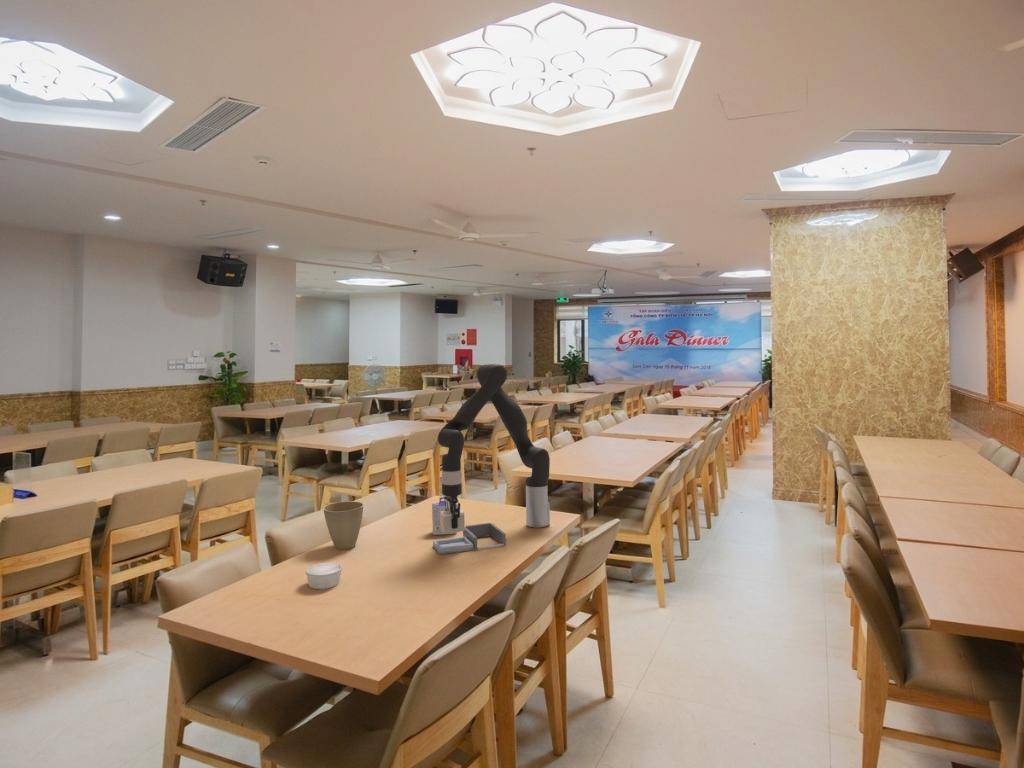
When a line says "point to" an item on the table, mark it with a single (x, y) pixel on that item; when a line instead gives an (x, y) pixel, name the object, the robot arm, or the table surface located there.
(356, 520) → the plant pot
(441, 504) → the ink cartridge box
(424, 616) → the table surface
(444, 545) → the tray
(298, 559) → the table surface
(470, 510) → the table surface
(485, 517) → the table surface
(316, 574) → the ramekin
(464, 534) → the frame
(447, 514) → the tall cream box
